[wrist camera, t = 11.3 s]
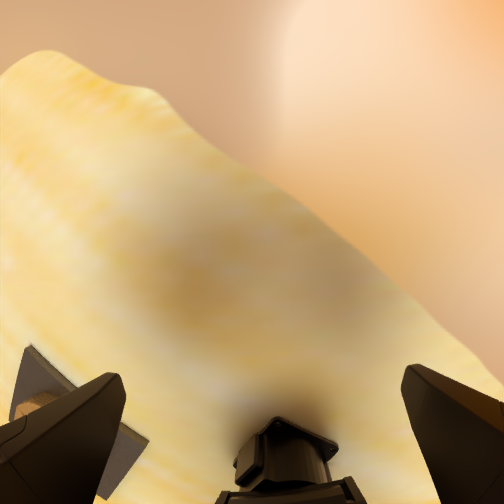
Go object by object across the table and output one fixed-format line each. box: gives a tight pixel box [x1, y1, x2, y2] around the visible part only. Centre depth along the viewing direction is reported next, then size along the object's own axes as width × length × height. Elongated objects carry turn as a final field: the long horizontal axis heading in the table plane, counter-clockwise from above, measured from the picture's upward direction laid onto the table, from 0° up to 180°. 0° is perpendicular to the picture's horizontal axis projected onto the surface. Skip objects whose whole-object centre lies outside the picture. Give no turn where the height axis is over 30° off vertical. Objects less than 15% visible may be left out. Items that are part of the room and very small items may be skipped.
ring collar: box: [9, 346, 149, 501], centre depth 21 cm, size 14×12×4 cm
